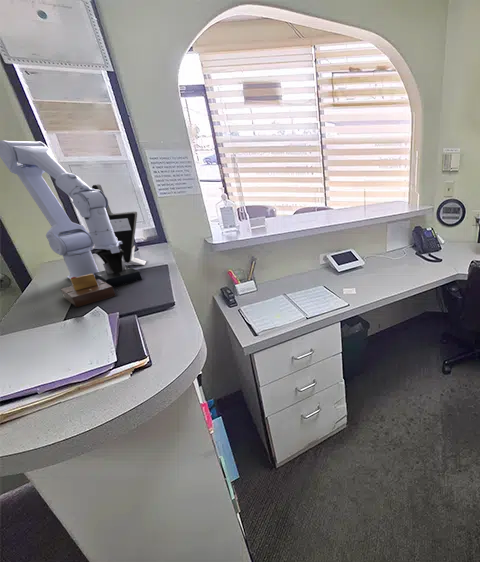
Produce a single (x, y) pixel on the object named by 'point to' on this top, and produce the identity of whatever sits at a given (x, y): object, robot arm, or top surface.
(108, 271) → the block
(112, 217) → the award
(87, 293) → the brown wooden base
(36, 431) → the top surface
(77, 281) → the block
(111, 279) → the back plate
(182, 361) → the top surface
